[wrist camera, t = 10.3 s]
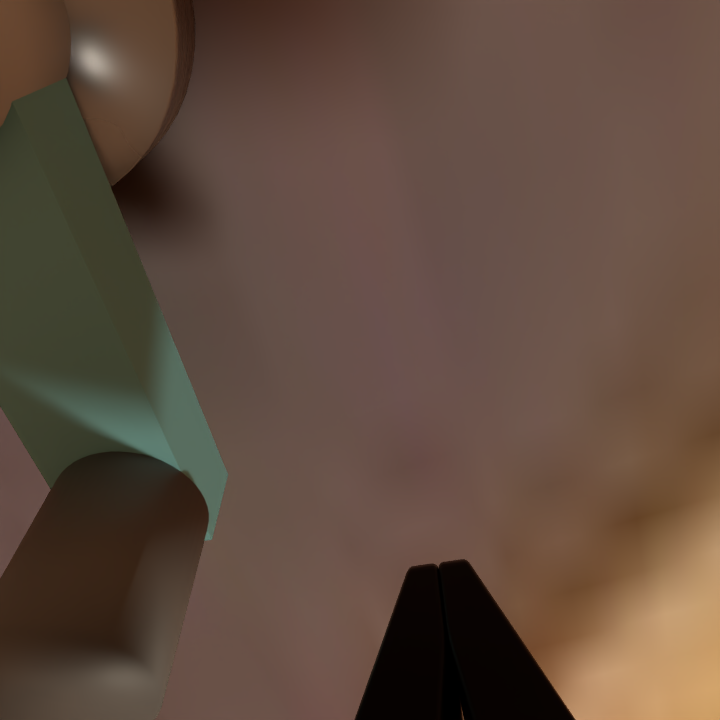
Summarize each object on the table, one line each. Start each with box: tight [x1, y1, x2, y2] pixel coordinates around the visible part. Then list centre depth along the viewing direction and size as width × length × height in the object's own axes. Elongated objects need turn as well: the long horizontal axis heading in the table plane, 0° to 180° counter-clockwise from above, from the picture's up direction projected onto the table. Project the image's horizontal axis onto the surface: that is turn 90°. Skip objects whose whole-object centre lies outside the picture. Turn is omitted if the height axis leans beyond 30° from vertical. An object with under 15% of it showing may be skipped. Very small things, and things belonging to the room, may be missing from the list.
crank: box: [0, 0, 228, 720], centre depth 9 cm, size 11×3×5 cm, turn 11°
